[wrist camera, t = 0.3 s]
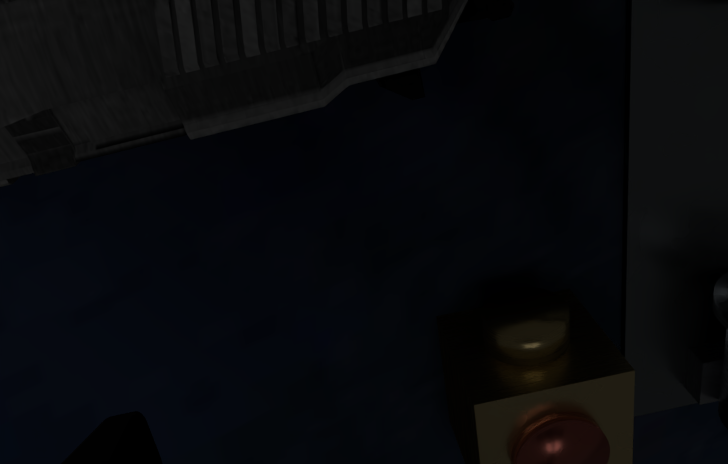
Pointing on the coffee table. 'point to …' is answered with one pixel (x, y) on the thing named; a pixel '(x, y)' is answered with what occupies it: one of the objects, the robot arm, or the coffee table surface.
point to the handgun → (197, 66)
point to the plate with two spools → (676, 204)
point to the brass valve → (536, 382)
